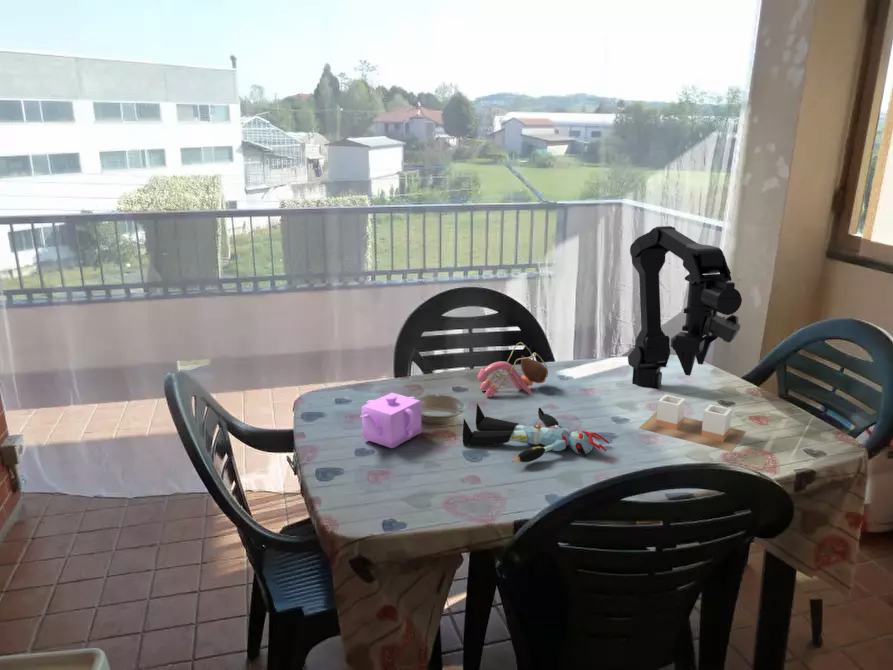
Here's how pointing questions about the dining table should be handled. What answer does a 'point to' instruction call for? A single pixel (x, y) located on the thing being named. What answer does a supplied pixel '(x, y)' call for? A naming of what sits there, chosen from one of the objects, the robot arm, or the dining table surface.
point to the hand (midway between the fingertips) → (694, 369)
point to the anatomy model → (514, 374)
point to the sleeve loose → (716, 422)
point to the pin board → (694, 433)
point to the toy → (528, 436)
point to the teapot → (391, 419)
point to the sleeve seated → (670, 412)
